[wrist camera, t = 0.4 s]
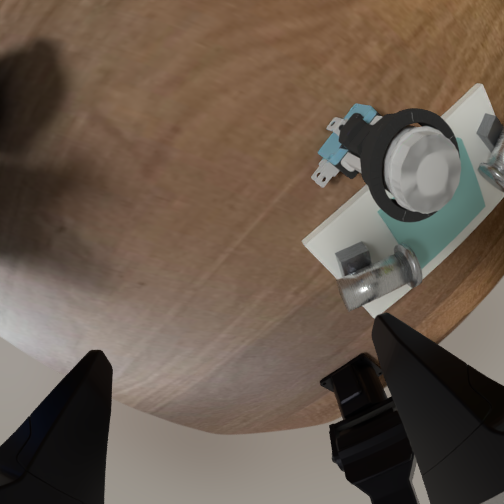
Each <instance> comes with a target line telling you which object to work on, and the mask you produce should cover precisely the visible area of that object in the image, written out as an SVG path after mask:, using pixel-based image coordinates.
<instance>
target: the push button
mask: <svg viewBox="0 0 504 504" xmlns="http://www.w3.org/2000/svg"><path fill="white" fill-rule="evenodd" d="M334 122H335V124H334V125H333V126H331V125H332V124H333V123H334ZM412 123H419V124H420V125H421V126H422V127H414V126H411V125H409V124H412ZM326 129H327V130H330V131H333V133H332V134H331V136H330V137H329V138H328V139H327V141H326V142H325V143H324V145H323V146H322V147H321V148H320V150H319V152H318V154H319V155H320V156H322V157H323V159H322V160H321V161H320V163H319V165H320V166H319V167H318V169H317V170H316V171H315V172H314V174H313V175H312V176H311V178H312V179H313V180H314V181H315V182H316V183H317V184H318V185H320V186H321V187H324V186H325V185H326V184H327V183H328V181H329V180H330V179H331V178H332V176H334V177H335V176H336V175H337V173H338V172H339V171H341V172H342V173H343V174H344V175H346V176H347V177H349V178H350V179H353V178H354V177H355V176H356V175H357V174H358V172H360V173H361V174H362V178H363V180H364V181H365V183H366V184H367V185H368V187H369V190H370V193H371V195H372V197H373V199H374V201H375V202H376V204H377V205H378V206H379V207H380V209H381V210H383V211H384V212H385V213H386V214H387V215H389V216H390V217H392V218H393V219H395V220H398V221H401V222H418V221H421V220H424V219H426V218H429V217H430V216H432V215H433V214H435V213H436V212H437V211H438V210H440V209H441V208H442V207H443V206H445V205H446V204H447V203H448V202H449V201H450V200H451V199H452V197H453V195H454V193H455V191H456V189H457V187H458V185H459V182H460V173H461V161H460V154H459V147H458V143H457V140H456V137H455V135H454V133H453V131H452V129H451V128H450V126H449V125H448V124H447V123H446V122H445V121H444V120H443V119H442V118H441V117H440V116H438V115H437V114H435V113H433V112H431V111H428V110H423V109H416V108H412V109H405V110H402V111H399V112H397V113H395V114H386V115H384V116H383V117H382V116H381V115H380V114H379V113H378V112H377V111H376V110H375V109H374V108H373V107H372V106H369V105H362V104H355V105H354V106H353V107H352V108H351V109H350V111H349V113H348V114H347V115H346V116H345V118H344V119H341V118H337V117H335V118H334V119H333V120H332V121H331V122H330V124H329V125H328V126H327V128H326ZM317 173H320V175H319V176H318V177H317ZM324 177H326V180H325V181H324V182H322V180H323V179H324ZM385 190H387V191H388V192H390V193H391V194H392V195H393V197H394V198H395V199H390V198H389V197H388V195H387V194H386V191H385Z"/></svg>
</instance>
